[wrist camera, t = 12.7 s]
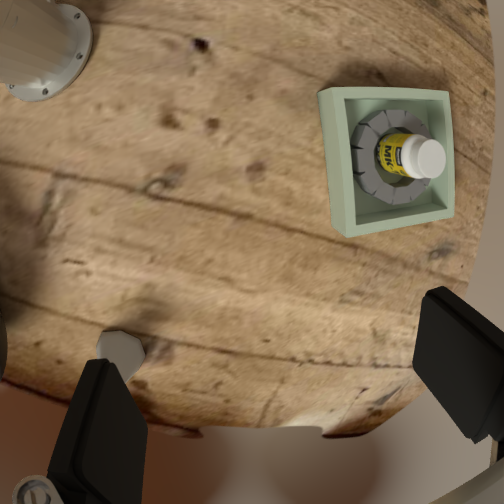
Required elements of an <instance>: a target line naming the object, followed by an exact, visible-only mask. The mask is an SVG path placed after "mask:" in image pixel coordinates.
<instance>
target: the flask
mask: <svg viewBox="0 0 504 504" xmlns="http://www.w3.org/2000/svg"><path fill="white" fill-rule="evenodd" d="M96 352H97V359H102V358H106V359H108V360H109V361H110V363H111V362H113V363H115V365H116V366H117V368H118V370H119V372H120V374H121V376H122V378H123V380H124V382H125V383H126V382H127V381H128V380H129V379H130V378H131V377H132V376H133V375H134V374H135V373H136V372H137V371H138V370H139V368H140V366H141V364H142V362H143V360H144V358H145V357H146V356H145V353H144V350H143V347H142V344H141V341H140V339H138V338H135V337H133V336H131V335H129V334H127V333H125V332H123V331H109V332H101V335H100V337H99V340H98V343H97V345H96Z"/></svg>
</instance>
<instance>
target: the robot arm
mask: <svg viewBox="0 0 504 504" xmlns="http://www.w3.org/2000/svg"><path fill="white" fill-rule="evenodd" d="M79 17H80V18H79ZM92 43H93V31H92V25H91V23H90V21H89V18H88V17H87V16H86V15H85V13H84V12H82V11H81V10H80V9H79V8H77V7H75V6H73V5H69V4H56V3H55V0H0V83H5V85H6V87H7V89H8V90H9V92H10V93H11V94H12V95H13V96H14V97H16V98H18V99H20V100H24V101H30V102H38V101H44V100H47V99H49V98H52V97H54V96H55V95H57V94H59V93H61V92H62V91H63V90H64V89H66V88H67V87H68V86H69V85H70V84H71V83H72V82H73V81H74V80H75V79H76V78H77V76H78V75H79V73H80V72H81V71H82V69H83V67H84V65H85V64H86V62H87V60H88V57H89V54H90V52H91V47H92ZM81 56H83V57H82V58H81ZM80 58H81V59H80ZM47 92H48V94H47ZM412 364H413V368H414V371H415V372H416V373H417V375H418V376H419V377H420V378H421V380H422V381H423V382H424V383H425V385H426V386H427V387H428V389H429V390H430V391H431V392H432V394H433V395H434V396H435V397H436V399H437V400H438V401H439V403H440V404H441V405H442V407H443V408H444V409H445V410H446V411H447V413H448V414H449V416H450V417H451V418H452V420H453V421H454V422H455V424H456V425H457V426H458V428H459V429H460V430H461V432H462V433H463V434H464V436H465V437H466V438H469V439H470V438H471V440H472V441H473V442H474V444H476V443H478V442H480V441H481V440H483V439H484V438H486V437H487V436H488V434H490V436H491V437H492V448H491V458H490V467H489V468H488V469H486V470H485V471H483V472H482V473H480V474H479V475H477V476H476V477H474V478H473V479H471V480H469V481H468V482H466V483H465V484H463V485H461V486H460V487H458V488H456V489H455V490H453V491H451V492H449V493H447V494H446V495H444V496H442V497H440V498H439V499H437V500H435V501H433V502H431V503H429V504H504V332H503V331H501V330H500V329H499V328H498V327H496V326H495V325H494V324H493V323H492V322H490V321H489V320H488V319H487V318H485V317H484V316H483V315H481V314H480V313H479V312H478V311H476V310H475V309H474V308H473V307H471V306H470V305H469V304H467V303H466V302H465V301H464V300H462V299H461V298H460V297H458V296H457V295H456V294H454V293H453V292H452V291H450V290H449V289H448V288H446V287H444V286H440V287H437V288H434V289H431V290H428V291H427V292H426V294H425V296H424V297H423V299H422V304H421V312H420V319H419V326H418V332H417V338H416V344H415V350H414V355H413V361H412ZM147 435H148V428H147V423H146V421H145V419H144V417H143V416H142V414H141V412H140V410H139V409H138V407H137V405H136V403H135V401H134V399H133V398H132V396H131V394H130V392H129V390H128V388H127V386H126V384H125V382H124V380H123V378H122V376H121V374H120V372H119V370H118V368H117V366H116V365H115V363H113V362H111V363H110V361H109V360H108V359H106V358H102V359H92V360H88V361H87V363H86V365H85V367H84V370H83V372H82V375H81V377H80V380H79V382H78V385H77V387H76V390H75V392H74V395H73V397H72V400H71V403H70V405H69V408H68V411H67V413H66V416H65V419H64V422H63V424H62V427H61V430H60V433H59V436H58V439H57V442H56V445H55V448H54V451H53V454H52V457H51V460H50V464H49V467H48V470H47V471H48V474H47V477H44V476H40V475H31V476H29V477H26V478H24V479H23V480H22V481H20V482H19V483H18V485H17V486H16V487H15V490H14V492H13V499H12V501H13V504H141V500H142V486H143V474H144V463H145V453H146V444H147Z"/></svg>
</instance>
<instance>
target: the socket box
mask: <svg viewBox="0 0 504 504" xmlns="http://www.w3.org/2000/svg"><path fill="white" fill-rule="evenodd" d="M317 97H318V104H319V111H320V118H321V125H322V133H323V141H324V149H325V158H326V167H327V177H328V187H329V198H330V210H331V223H332V227H333V228H334V229H336V230H337V231H338V232H340V233H341V234H342V235H344V236H345V237H346V238H348V237H353V236H359V235H364V234H369V233H374V232H379V231H384V230H389V229H395V228H400V227H405V226H410V225H415V224H420V223H425V222H430V221H435V220H440V219H446V218H451V217H454V196H455V174H454V145H453V130H452V118H451V109H450V100H449V92H448V91H440V90H428V89H414V88H395V87H331V88H328V89H325V90H323V91H320V92H317ZM388 133H398V134H418V135H422V136H424V137H426V138H427V139H434V140H436V141H438V142H439V143H440V144H441V145H442V147H443V148H444V151H445V154H446V164H445V168H444V170H443V172H442V173H441V174H440V175H439V176H438V177H436V178H421V179H416V178H412V177H408V176H404V175H399V174H395V173H391V172H387V171H385V170H383V169H382V168H381V167H380V166H379V165H378V164H377V162H376V159H375V156H374V149H375V146H376V144H377V141H378V139H379V138H380V137H381V136H382V135H384V134H388Z"/></svg>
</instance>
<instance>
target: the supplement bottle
mask: <svg viewBox="0 0 504 504" xmlns="http://www.w3.org/2000/svg"><path fill="white" fill-rule="evenodd" d="M374 156H375V159H376V162H377V164H378V165H379V166H380V167H381V168H382V169H383V170H385V171H387V172H391V173H395V174H399V175H404V176H408V177H412V178H416V179H421V178H436V177H438V176H439V175H440V174H441V173H442V172H443V170H444V168H445V164H446V154H445V151H444V148H443V147H442V145H441V144H440V143H439V142H438V141H436V140H434V139H427V138H426V137H424V136H422V135H418V134H398V133H388V134H384V135H382V136H381V137H380V138H379V139H378V141H377V144H376V146H375V149H374Z"/></svg>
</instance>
